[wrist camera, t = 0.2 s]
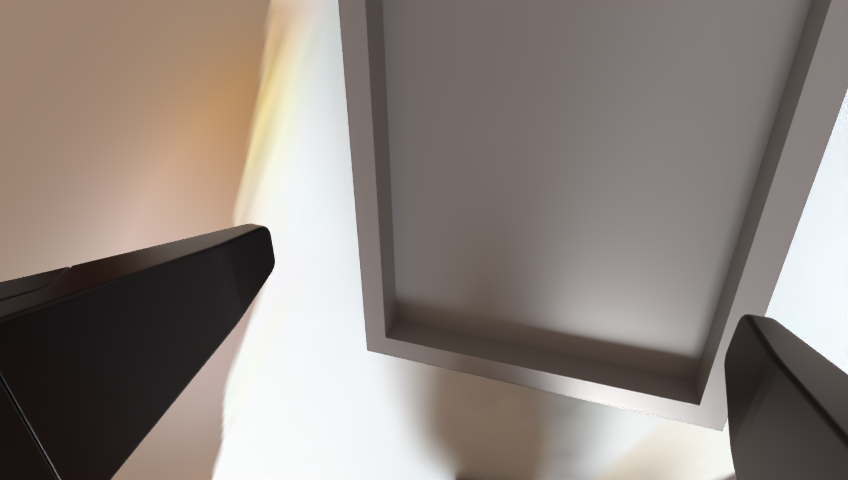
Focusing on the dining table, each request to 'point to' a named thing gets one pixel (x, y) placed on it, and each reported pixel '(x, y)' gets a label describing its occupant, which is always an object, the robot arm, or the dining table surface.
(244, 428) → the dining table surface
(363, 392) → the dining table surface
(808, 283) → the dining table surface
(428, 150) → the tray
